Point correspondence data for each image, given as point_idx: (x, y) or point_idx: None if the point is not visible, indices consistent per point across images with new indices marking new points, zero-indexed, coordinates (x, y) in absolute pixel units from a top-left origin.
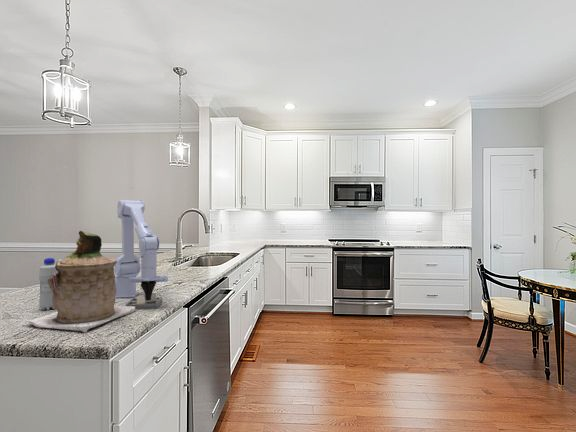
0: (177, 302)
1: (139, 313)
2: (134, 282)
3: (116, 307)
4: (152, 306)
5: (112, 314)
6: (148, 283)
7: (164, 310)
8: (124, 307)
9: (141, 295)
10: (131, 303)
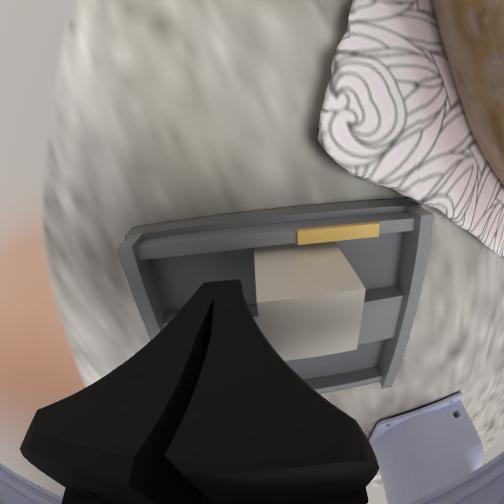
0: (81, 349)
1: (241, 67)
2: (484, 465)
3: (471, 195)
4: (169, 227)
5: (434, 6)
6: (144, 500)
7: (58, 168)
8: (422, 167)
9: (321, 348)
10: (389, 291)
